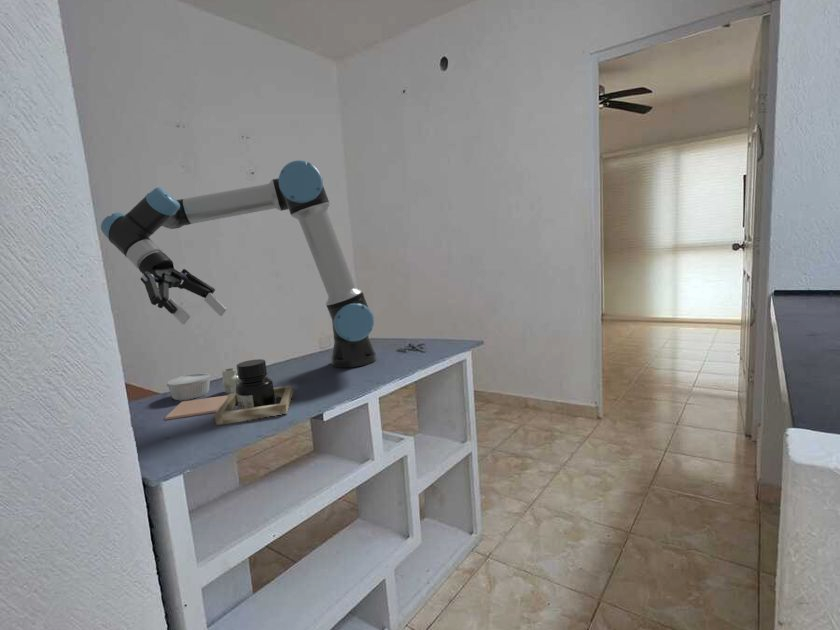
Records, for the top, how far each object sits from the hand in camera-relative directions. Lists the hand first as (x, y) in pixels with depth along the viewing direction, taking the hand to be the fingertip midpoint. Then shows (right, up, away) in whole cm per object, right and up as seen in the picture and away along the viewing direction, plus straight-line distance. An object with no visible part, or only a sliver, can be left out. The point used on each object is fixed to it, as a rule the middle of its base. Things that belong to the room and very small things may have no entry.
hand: (206, 316), depth 114 cm
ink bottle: (+15, -24, -3) cm, 28 cm away
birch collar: (+15, -23, -3) cm, 28 cm away
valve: (+4, -22, +17) cm, 28 cm away
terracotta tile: (-3, -24, +1) cm, 24 cm away
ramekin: (-11, -23, +13) cm, 29 cm away
